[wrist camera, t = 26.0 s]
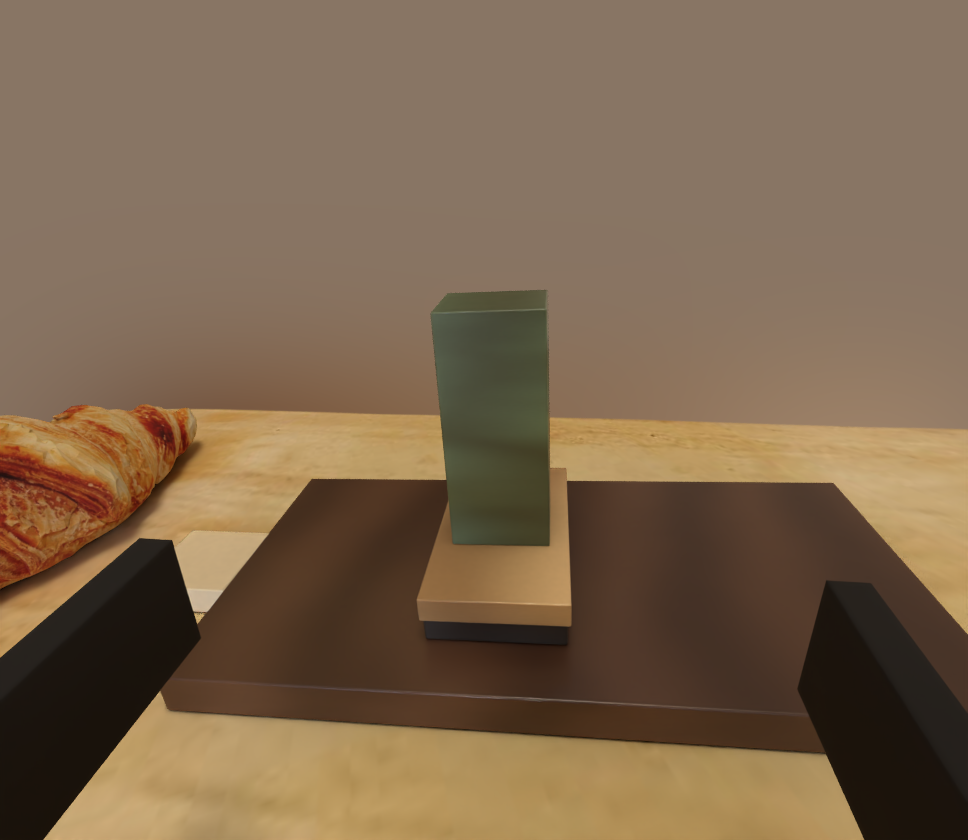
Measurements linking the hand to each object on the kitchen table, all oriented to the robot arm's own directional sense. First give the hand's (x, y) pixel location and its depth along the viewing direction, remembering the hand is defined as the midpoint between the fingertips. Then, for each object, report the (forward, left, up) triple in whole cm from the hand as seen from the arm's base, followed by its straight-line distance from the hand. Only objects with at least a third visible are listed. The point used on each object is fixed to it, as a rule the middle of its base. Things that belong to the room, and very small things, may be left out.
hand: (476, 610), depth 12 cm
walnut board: (-2, -10, -8) cm, 12 cm away
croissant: (+24, -13, -8) cm, 29 cm away
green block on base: (0, -10, -6) cm, 11 cm away
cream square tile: (+14, -10, -8) cm, 18 cm away
